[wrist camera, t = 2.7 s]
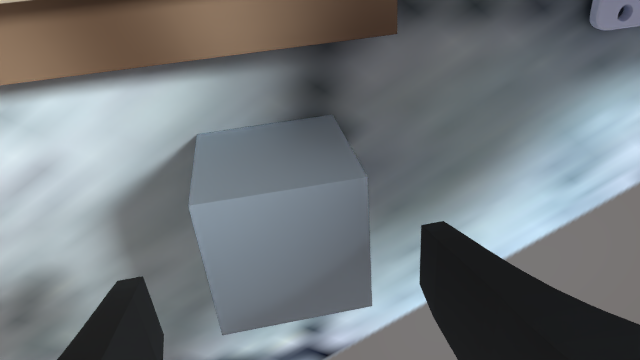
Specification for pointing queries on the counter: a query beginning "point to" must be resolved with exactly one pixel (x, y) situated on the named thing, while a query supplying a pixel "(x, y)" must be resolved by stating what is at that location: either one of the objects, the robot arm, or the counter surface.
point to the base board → (169, 31)
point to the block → (281, 222)
